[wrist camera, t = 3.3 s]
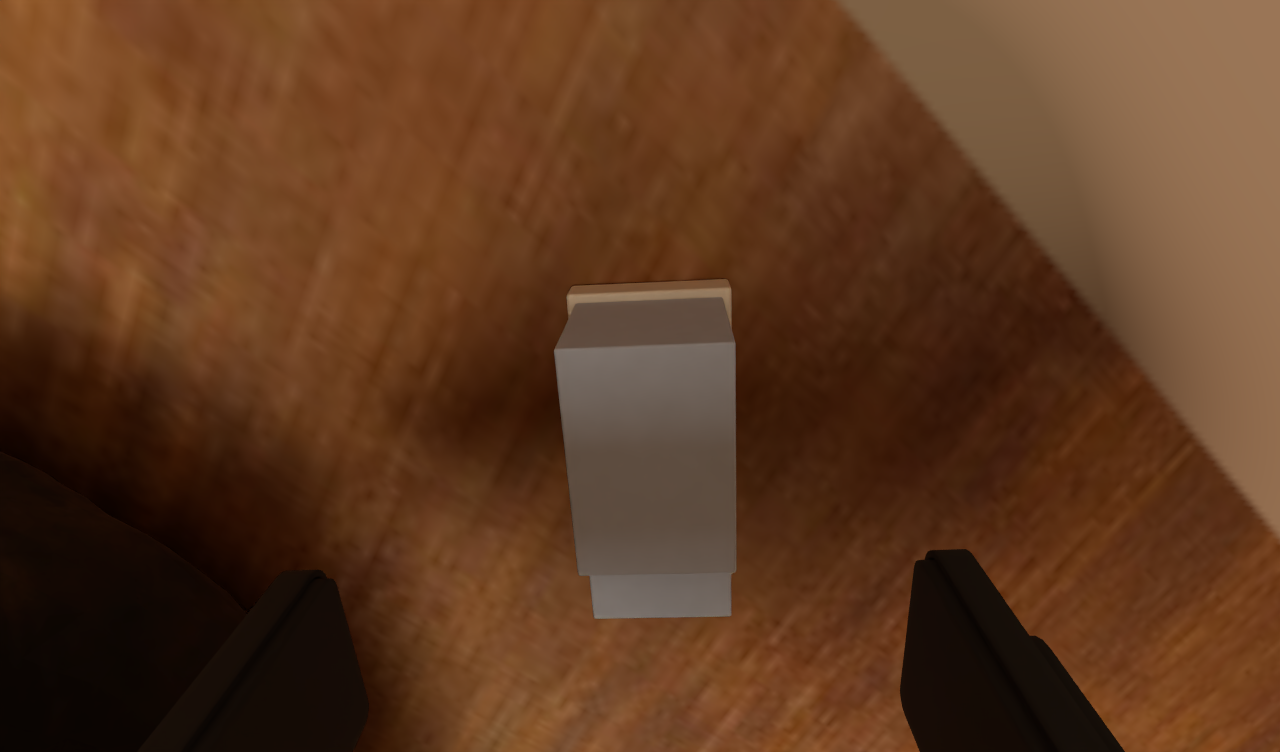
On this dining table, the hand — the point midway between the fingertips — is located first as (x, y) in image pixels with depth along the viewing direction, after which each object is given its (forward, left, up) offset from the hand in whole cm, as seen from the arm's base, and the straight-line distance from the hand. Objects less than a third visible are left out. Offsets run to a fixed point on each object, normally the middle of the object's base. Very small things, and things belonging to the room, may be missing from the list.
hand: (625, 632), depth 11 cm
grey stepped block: (0, 0, -7) cm, 7 cm away
